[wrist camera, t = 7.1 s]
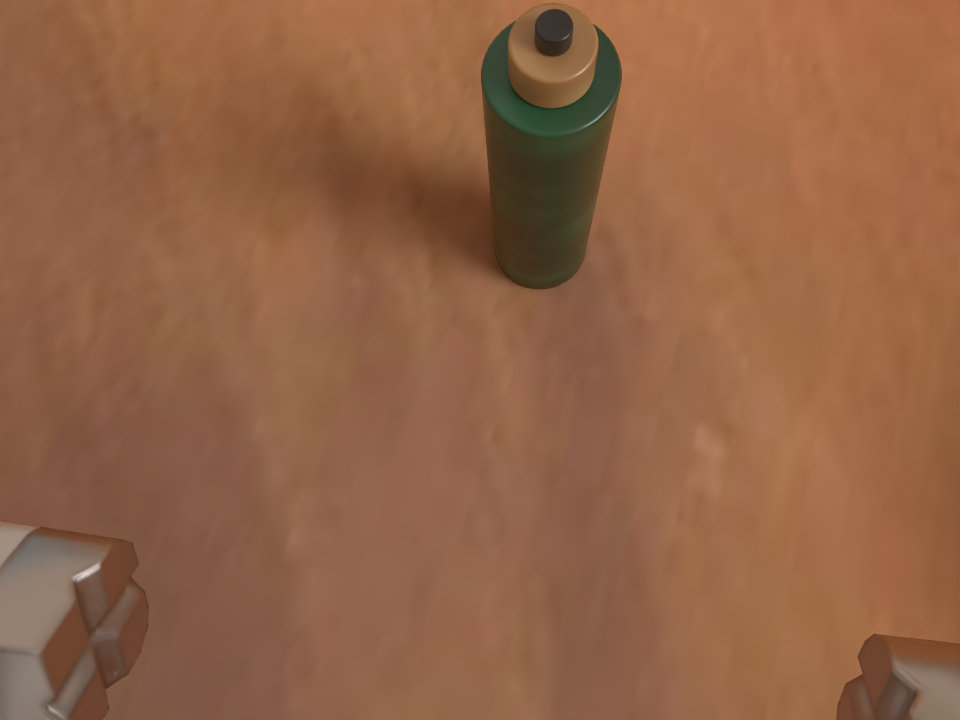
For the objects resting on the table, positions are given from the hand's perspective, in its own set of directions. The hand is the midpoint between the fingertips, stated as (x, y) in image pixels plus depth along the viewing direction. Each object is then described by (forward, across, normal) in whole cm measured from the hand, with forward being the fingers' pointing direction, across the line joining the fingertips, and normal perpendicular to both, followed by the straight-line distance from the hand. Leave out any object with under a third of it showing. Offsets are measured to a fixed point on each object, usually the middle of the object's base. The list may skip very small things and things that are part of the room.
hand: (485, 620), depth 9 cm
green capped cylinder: (+18, 0, -3) cm, 18 cm away
